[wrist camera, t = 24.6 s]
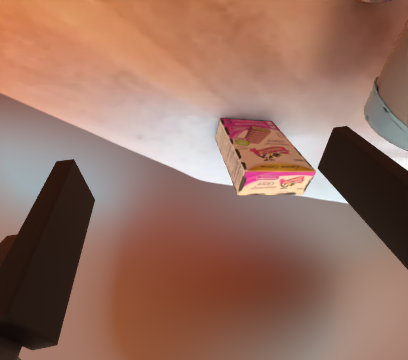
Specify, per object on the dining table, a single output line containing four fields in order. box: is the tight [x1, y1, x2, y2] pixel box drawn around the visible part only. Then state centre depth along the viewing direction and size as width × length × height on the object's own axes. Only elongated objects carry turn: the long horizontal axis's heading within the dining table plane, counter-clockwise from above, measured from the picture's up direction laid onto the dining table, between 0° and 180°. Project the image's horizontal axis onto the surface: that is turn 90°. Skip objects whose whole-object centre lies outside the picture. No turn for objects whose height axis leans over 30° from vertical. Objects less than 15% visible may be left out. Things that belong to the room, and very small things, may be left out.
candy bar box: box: [216, 118, 316, 195], centre depth 38 cm, size 11×5×16 cm, turn 82°
